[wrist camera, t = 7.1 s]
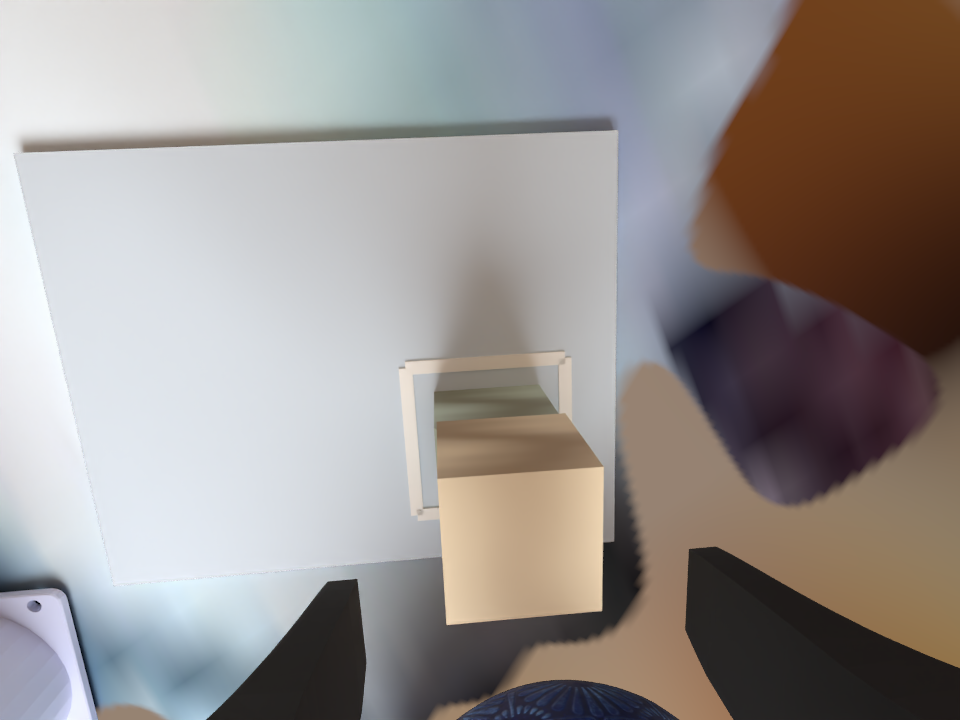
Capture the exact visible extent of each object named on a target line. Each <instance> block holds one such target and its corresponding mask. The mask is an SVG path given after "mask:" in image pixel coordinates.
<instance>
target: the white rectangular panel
mask: <svg viewBox="0 0 960 720" xmlns="http://www.w3.org/2000/svg"><path fill="white" fill-rule="evenodd" d="M13 154H14V158H15V163H16V167H17V171H18V176H19V180H20V184H21V189H22V193H23V197H24V201H25V206H26V210H27V214H28V219H29V223H30V227H31V232H32V236H33V240H34V245H35V249H36V253H37V258H38V262H39V266H40V271H41V275H42V279H43V284H44V288H45V292H46V297H47V301H48V305H49V310H50V314H51V318H52V323H53V327H54V331H55V335H56V340H57V344H58V348H59V353H60V357H61V361H62V366H63V370H64V374H65V379H66V383H67V387H68V392H69V396H70V400H71V405H72V409H73V413H74V418H75V422H76V426H77V431H78V435H79V439H80V444H81V448H82V452H83V456H84V461H85V465H86V469H87V474H88V478H89V482H90V487H91V491H92V495H93V500H94V504H95V508H96V513H97V517H98V521H99V526H100V530H101V534H102V539H103V543H104V547H105V552H106V556H107V560H108V565H109V569H110V573H111V578H112V582H113V586H122V585H133V584H144V583H155V582H167V581H178V580H189V579H200V578H211V577H223V576H234V575H245V574H256V573H267V572H279V571H290V570H301V569H312V568H323V567H335V566H346V565H357V564H368V563H379V562H391V561H402V560H413V559H424V558H435V557H442V546H441V530H440V514H439V498H438V483H437V464H436V450H435V436H434V392H437V391H452V390H466V389H481V388H495V387H510V386H524V385H539V386H540V387H541V388H542V390H543V391H544V393H545V394H546V396H547V397H548V399H549V400H550V402H551V403H552V405H553V406H554V408H555V409H556V411H557V412H558V413H559V414H562V413H566V415H567V416H568V418H569V419H570V420H571V422H572V423H573V425H574V426H575V427H576V429H577V430H578V432H579V433H580V434H581V436H582V437H583V438H584V440H585V441H586V443H587V444H588V445H589V447H590V448H591V450H592V451H593V452H594V454H595V455H596V457H597V458H598V459H599V461H600V462H601V464H602V465H603V466H604V495H603V542H614V510H615V407H616V305H617V203H618V130H610V131H584V132H557V133H531V134H505V135H478V136H452V137H425V138H399V139H372V140H346V141H320V142H293V143H267V144H240V145H214V146H187V147H161V148H135V149H108V150H82V151H55V152H29V153H13Z"/></svg>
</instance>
